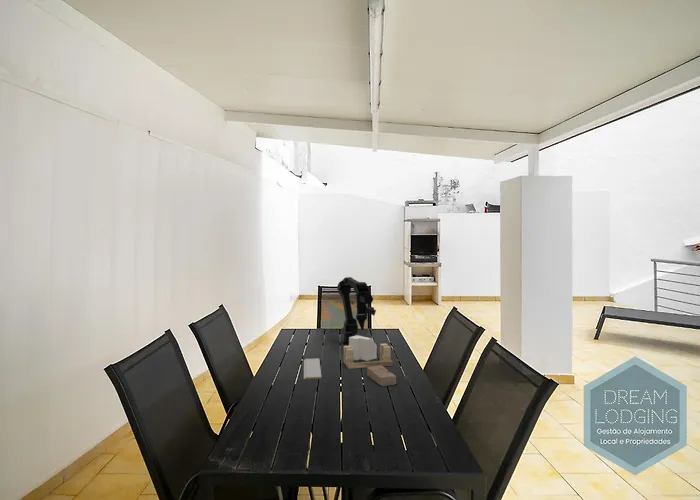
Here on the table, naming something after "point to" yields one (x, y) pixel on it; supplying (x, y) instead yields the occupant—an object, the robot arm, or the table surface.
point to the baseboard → (312, 369)
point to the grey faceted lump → (363, 348)
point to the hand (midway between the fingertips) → (362, 329)
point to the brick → (381, 375)
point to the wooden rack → (384, 357)
